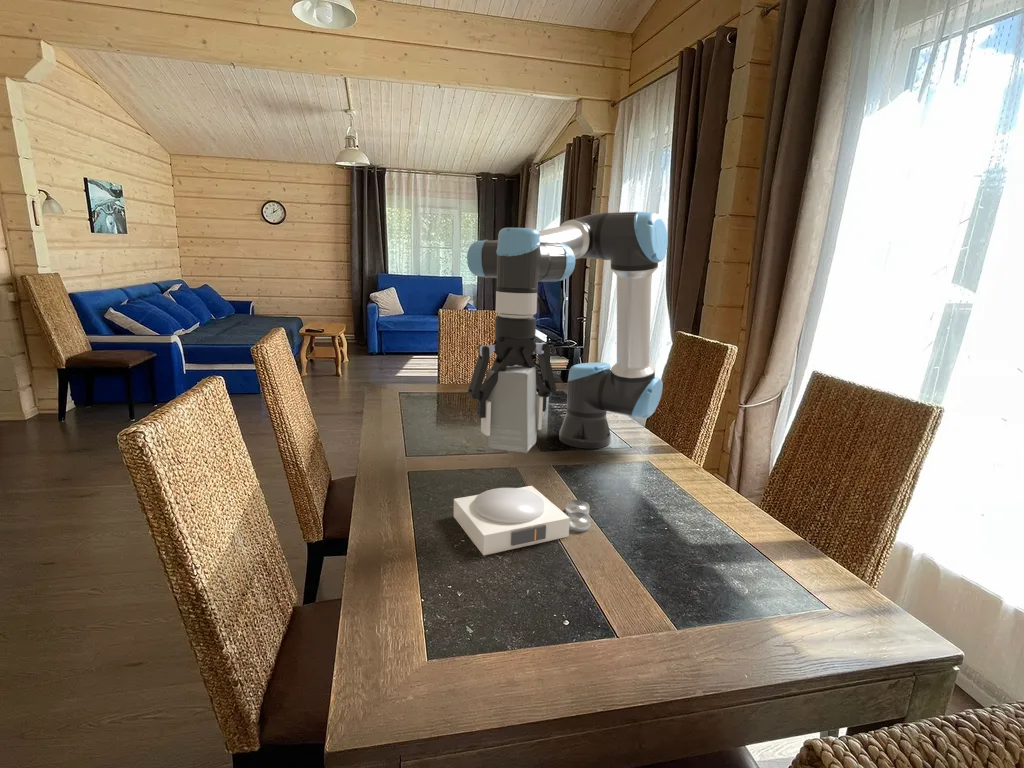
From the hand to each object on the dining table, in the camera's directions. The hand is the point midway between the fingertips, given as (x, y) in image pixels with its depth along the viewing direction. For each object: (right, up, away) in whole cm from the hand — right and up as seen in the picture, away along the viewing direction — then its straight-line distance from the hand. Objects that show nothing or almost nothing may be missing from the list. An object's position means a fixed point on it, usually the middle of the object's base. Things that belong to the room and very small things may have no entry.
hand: (511, 430), depth 105 cm
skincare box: (0, -3, +1) cm, 3 cm away
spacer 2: (+13, -20, +6) cm, 25 cm away
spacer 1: (+14, -19, +11) cm, 26 cm away
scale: (0, -20, +4) cm, 20 cm away
